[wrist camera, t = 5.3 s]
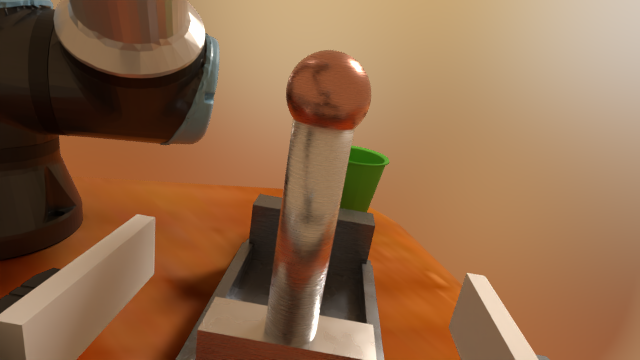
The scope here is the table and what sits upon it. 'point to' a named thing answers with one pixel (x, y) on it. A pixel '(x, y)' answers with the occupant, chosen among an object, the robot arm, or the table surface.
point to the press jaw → (302, 230)
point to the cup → (362, 178)
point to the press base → (341, 281)
